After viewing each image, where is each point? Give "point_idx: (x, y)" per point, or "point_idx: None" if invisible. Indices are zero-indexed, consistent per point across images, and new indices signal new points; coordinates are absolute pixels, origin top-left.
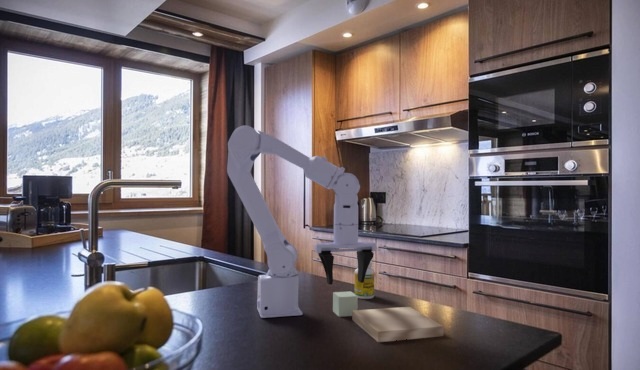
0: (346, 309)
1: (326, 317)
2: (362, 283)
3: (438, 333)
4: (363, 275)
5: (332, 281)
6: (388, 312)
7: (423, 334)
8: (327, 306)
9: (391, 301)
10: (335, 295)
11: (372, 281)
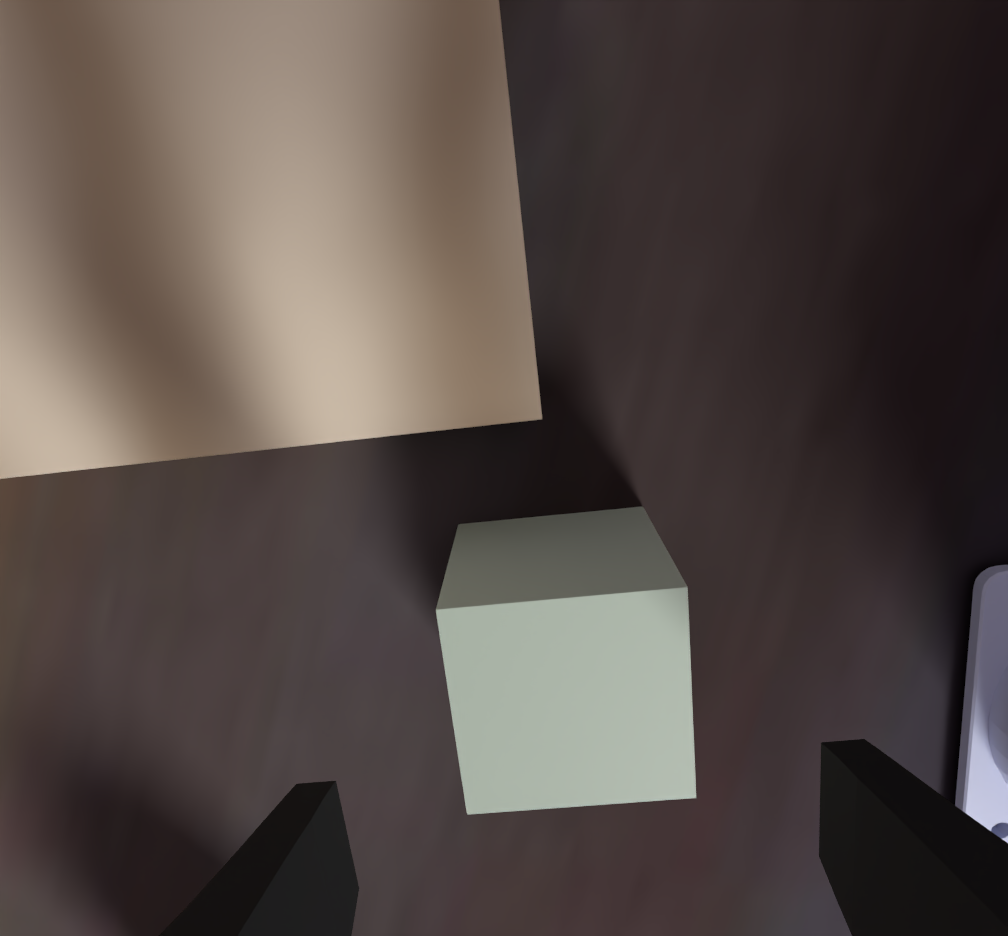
0: (571, 537)
1: (762, 499)
2: None
3: None
4: (255, 864)
5: (851, 763)
6: (158, 305)
7: None
8: None
9: (63, 862)
10: (689, 704)
11: None
